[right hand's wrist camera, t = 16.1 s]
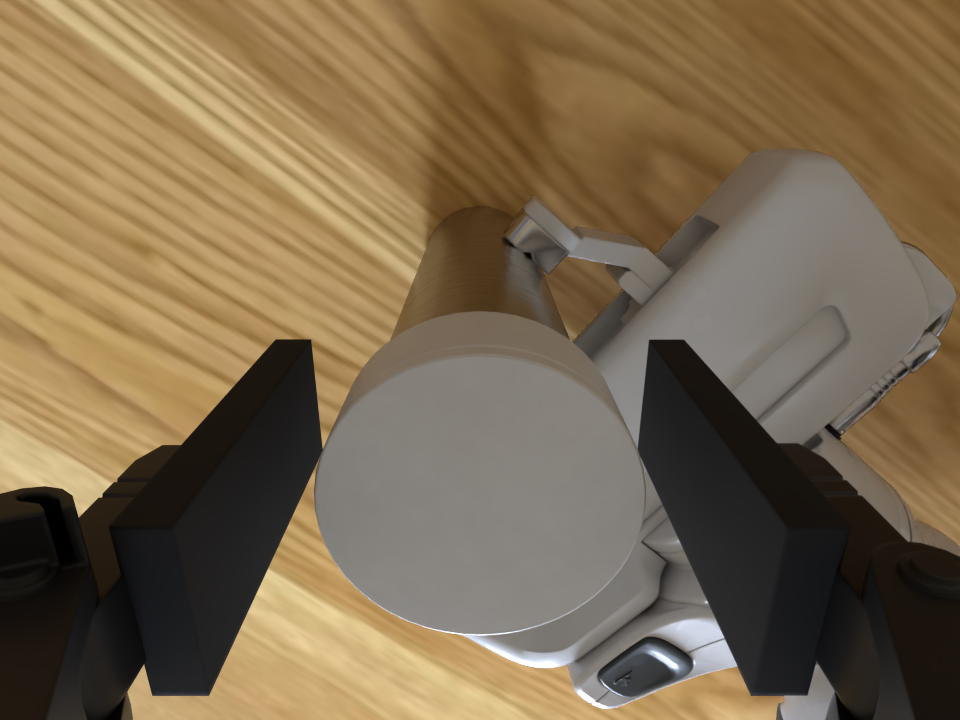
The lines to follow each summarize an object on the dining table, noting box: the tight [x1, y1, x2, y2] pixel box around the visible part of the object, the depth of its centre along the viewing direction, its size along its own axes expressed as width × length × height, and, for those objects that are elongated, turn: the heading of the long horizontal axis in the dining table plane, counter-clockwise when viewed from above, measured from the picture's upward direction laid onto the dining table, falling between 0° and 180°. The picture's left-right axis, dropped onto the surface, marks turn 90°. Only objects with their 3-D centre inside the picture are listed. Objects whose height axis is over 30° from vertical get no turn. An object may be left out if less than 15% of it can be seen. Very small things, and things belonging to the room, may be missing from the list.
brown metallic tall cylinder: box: [390, 207, 570, 340], centre depth 19 cm, size 5×5×17 cm
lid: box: [314, 311, 646, 635], centre depth 11 cm, size 5×5×2 cm
